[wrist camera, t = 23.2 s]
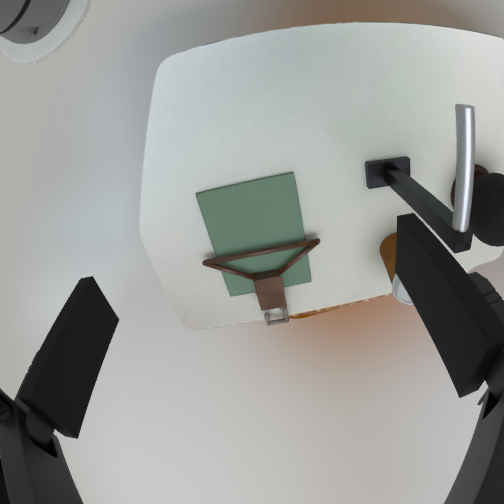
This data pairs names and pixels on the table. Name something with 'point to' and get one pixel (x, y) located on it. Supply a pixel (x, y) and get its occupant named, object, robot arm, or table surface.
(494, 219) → the black ball on stand
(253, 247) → the mat
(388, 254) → the disposable coffee cup
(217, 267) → the hanger
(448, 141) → the table surface
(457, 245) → the black and grey stand
